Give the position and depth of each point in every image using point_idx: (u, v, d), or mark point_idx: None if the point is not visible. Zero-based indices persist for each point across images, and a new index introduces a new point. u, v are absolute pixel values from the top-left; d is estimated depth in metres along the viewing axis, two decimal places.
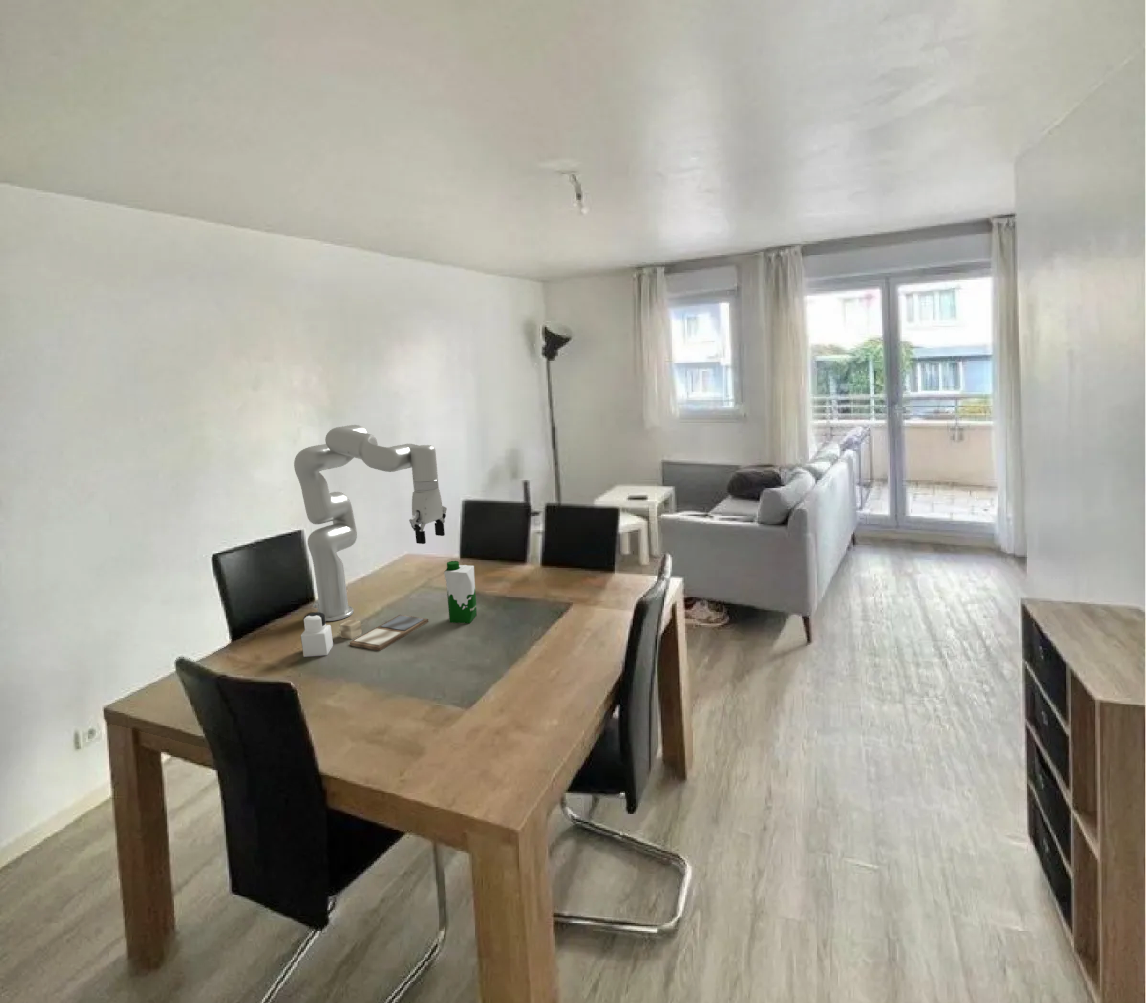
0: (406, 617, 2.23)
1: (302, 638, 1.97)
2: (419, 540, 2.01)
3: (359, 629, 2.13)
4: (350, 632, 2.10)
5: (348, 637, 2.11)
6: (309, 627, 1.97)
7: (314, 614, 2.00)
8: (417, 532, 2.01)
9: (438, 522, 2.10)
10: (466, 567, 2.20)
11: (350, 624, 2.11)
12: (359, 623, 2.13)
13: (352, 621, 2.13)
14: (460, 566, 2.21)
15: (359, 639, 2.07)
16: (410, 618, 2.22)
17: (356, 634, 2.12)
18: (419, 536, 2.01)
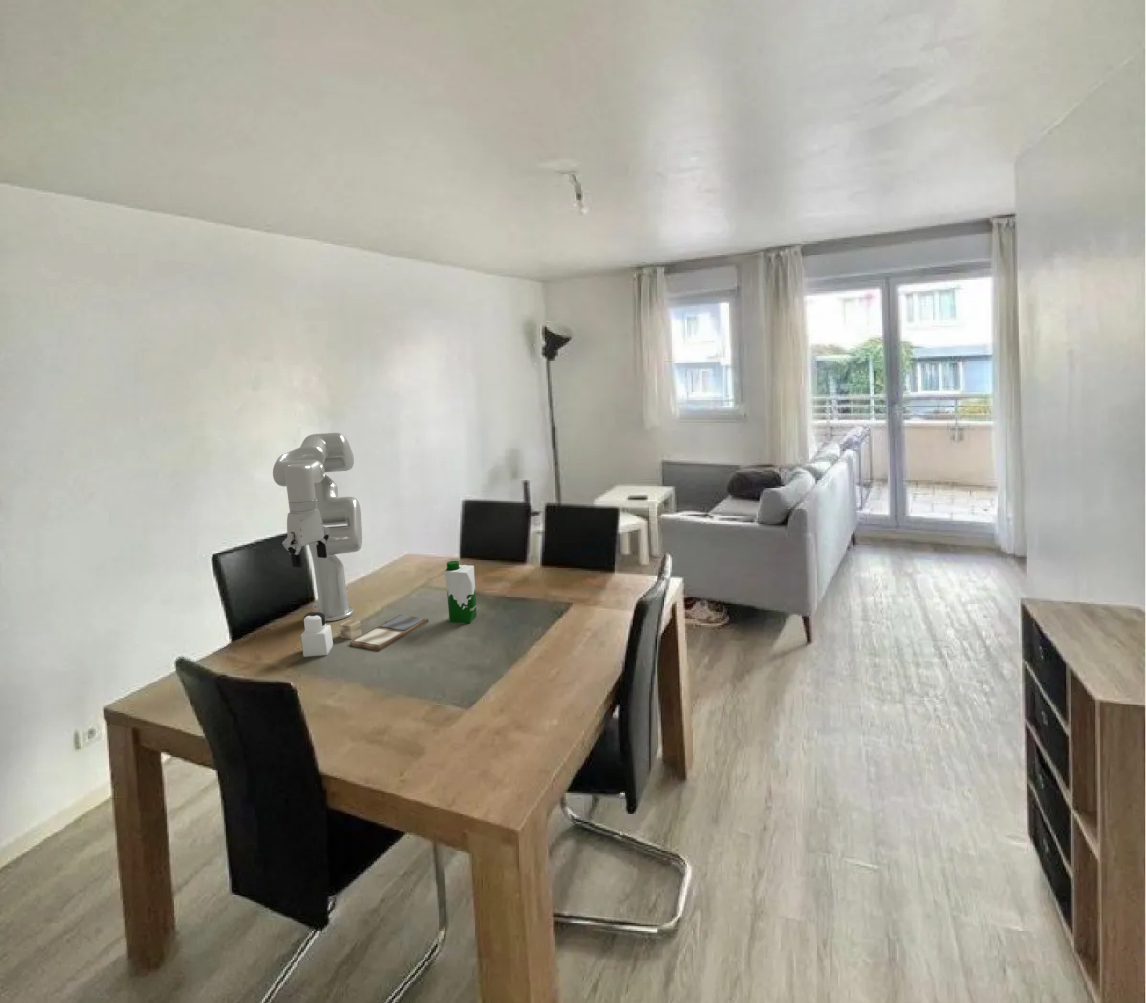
0: (406, 617, 2.23)
1: (302, 638, 1.97)
2: (295, 563, 1.91)
3: (359, 629, 2.13)
4: (350, 632, 2.10)
5: (348, 637, 2.11)
6: (309, 627, 1.97)
7: (314, 614, 2.00)
8: (292, 555, 1.91)
9: (320, 544, 2.00)
10: (466, 567, 2.20)
11: (350, 624, 2.11)
12: (359, 623, 2.13)
13: (352, 621, 2.13)
14: (460, 566, 2.21)
15: (359, 639, 2.07)
16: (410, 618, 2.22)
17: (356, 634, 2.12)
18: (295, 559, 1.91)
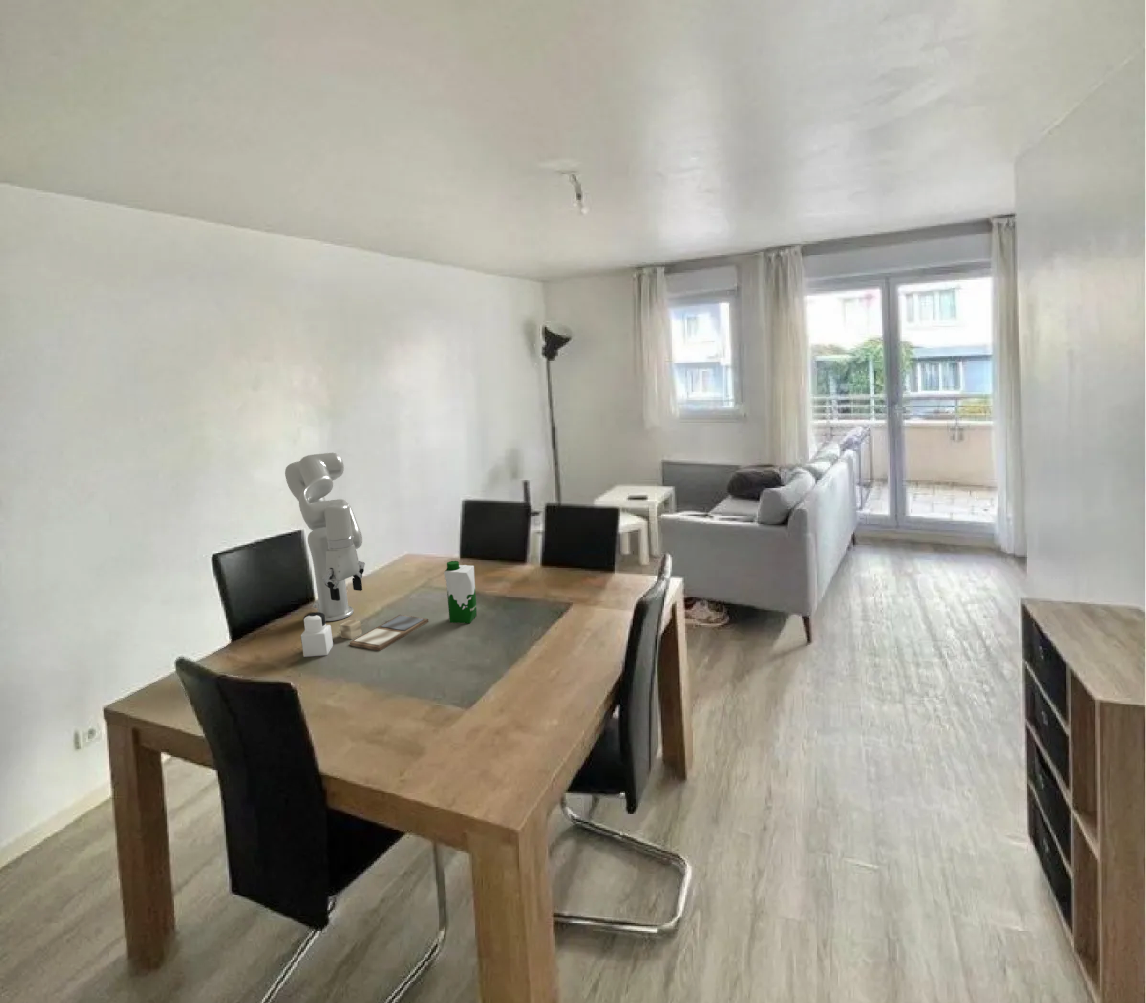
0: (406, 617, 2.23)
1: (302, 638, 1.97)
2: (333, 597, 2.04)
3: (359, 629, 2.13)
4: (350, 632, 2.10)
5: (348, 637, 2.11)
6: (309, 627, 1.97)
7: (314, 614, 2.00)
8: (331, 589, 2.04)
9: (355, 577, 2.13)
10: (466, 567, 2.20)
11: (350, 624, 2.11)
12: (359, 623, 2.13)
13: (352, 621, 2.13)
14: (460, 566, 2.21)
15: (359, 639, 2.07)
16: (410, 618, 2.22)
17: (356, 634, 2.12)
18: (333, 593, 2.04)
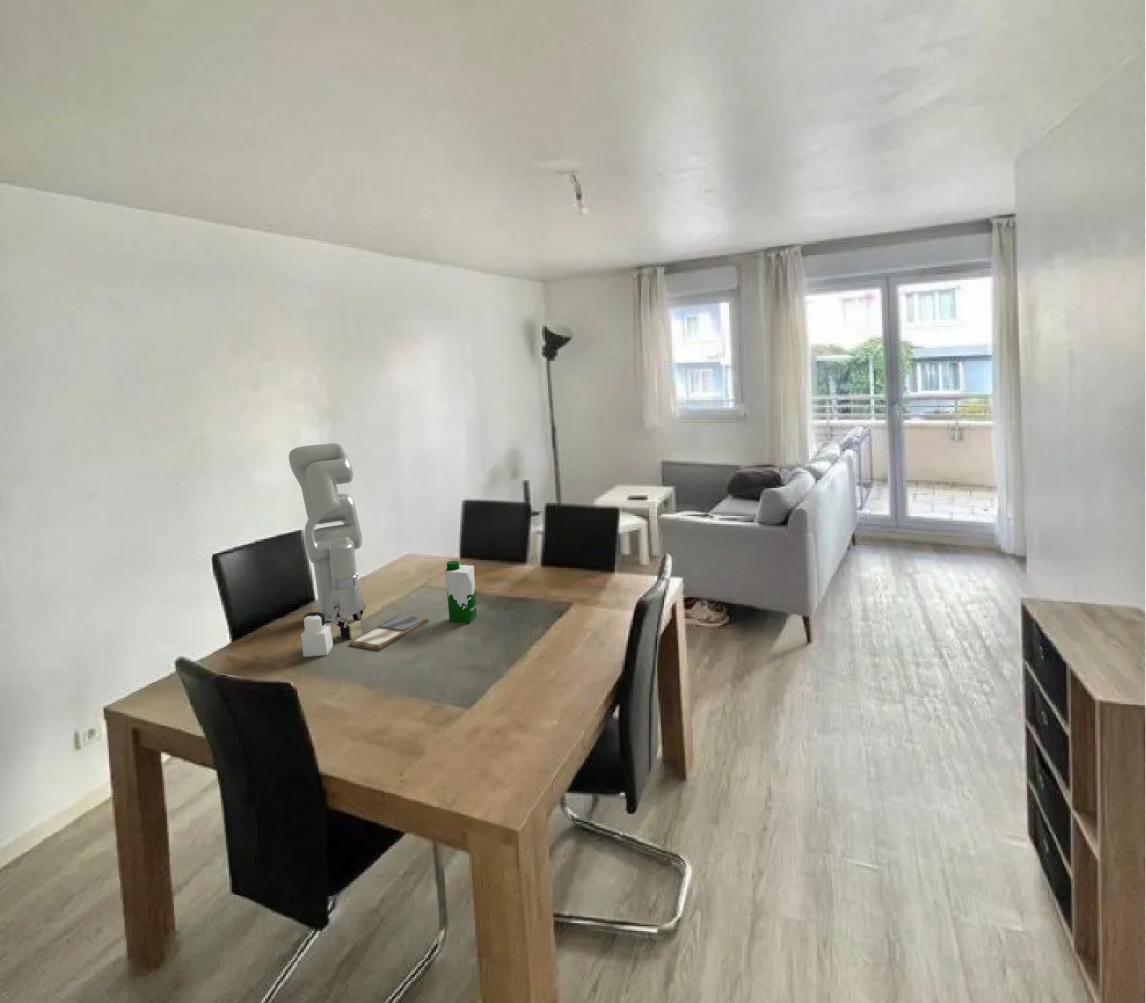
0: (406, 617, 2.23)
1: (302, 638, 1.97)
2: (343, 635, 2.10)
3: (359, 629, 2.13)
4: (351, 631, 2.10)
5: None
6: (309, 627, 1.97)
7: (314, 614, 2.00)
8: (341, 628, 2.09)
9: (355, 618, 2.14)
10: (466, 567, 2.20)
11: (350, 624, 2.11)
12: (359, 623, 2.13)
13: (352, 621, 2.13)
14: (460, 566, 2.21)
15: (359, 639, 2.07)
16: (410, 618, 2.22)
17: (356, 634, 2.12)
18: (343, 632, 2.09)
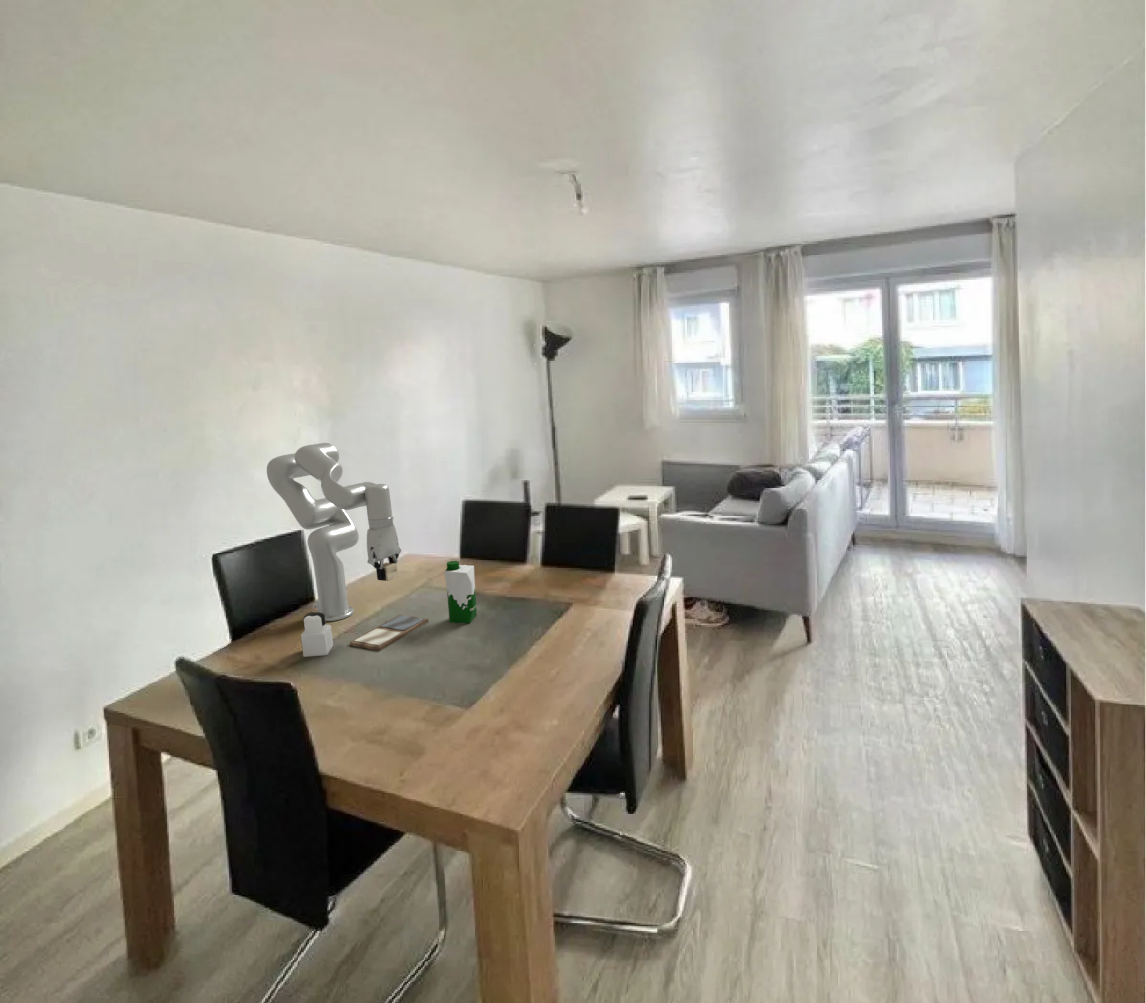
0: (406, 617, 2.23)
1: (302, 638, 1.97)
2: (379, 577, 2.10)
3: (395, 572, 2.14)
4: (387, 573, 2.10)
5: None
6: (309, 627, 1.97)
7: (314, 614, 2.00)
8: (377, 569, 2.10)
9: (390, 561, 2.15)
10: (466, 567, 2.20)
11: (386, 566, 2.12)
12: (395, 565, 2.14)
13: (388, 563, 2.14)
14: (460, 566, 2.21)
15: (359, 639, 2.07)
16: (410, 618, 2.22)
17: (392, 576, 2.13)
18: (379, 573, 2.10)
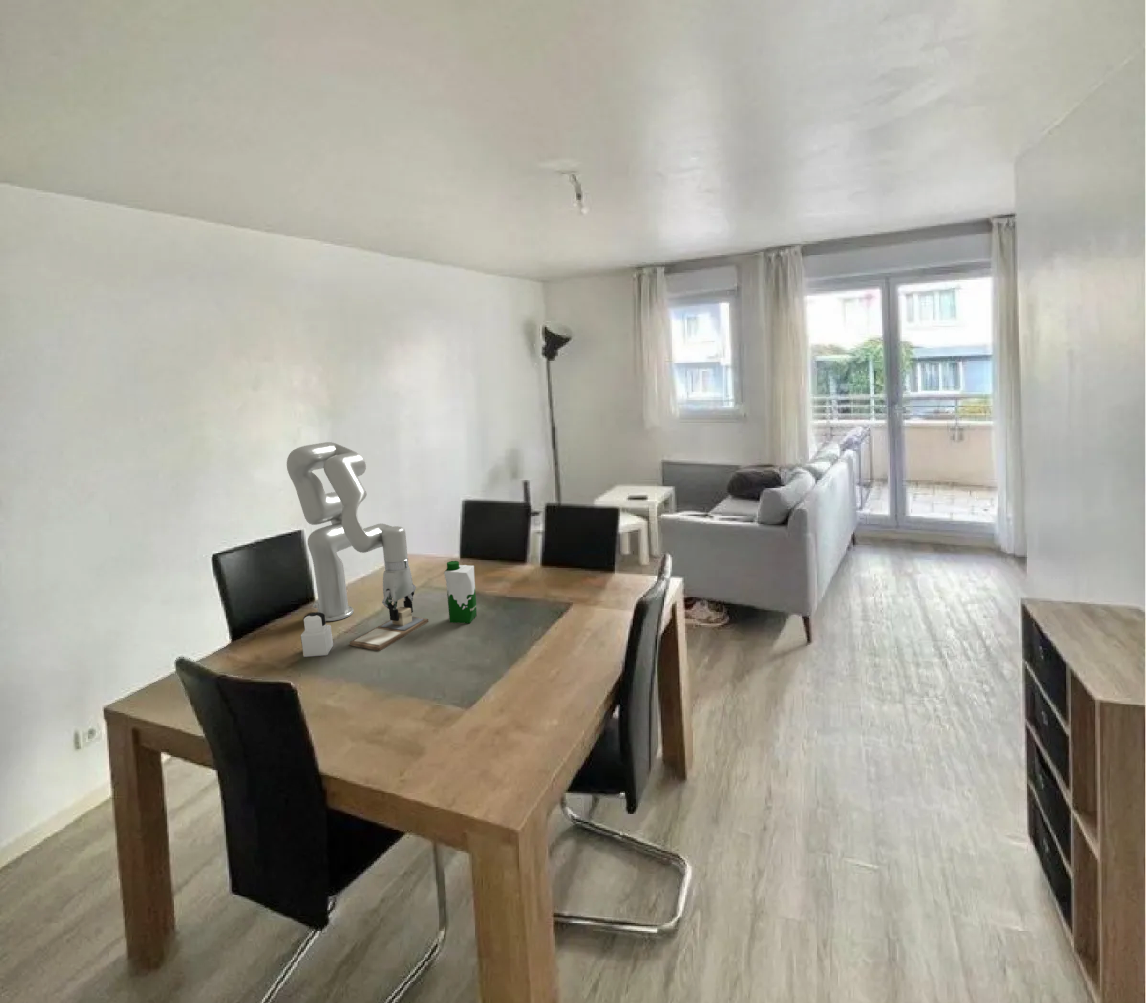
0: None
1: (302, 638, 1.97)
2: (392, 617, 2.14)
3: (410, 616, 2.19)
4: (402, 618, 2.15)
5: (399, 623, 2.16)
6: (309, 627, 1.97)
7: (314, 614, 2.00)
8: (390, 610, 2.14)
9: (406, 599, 2.21)
10: (466, 567, 2.20)
11: (401, 611, 2.17)
12: (410, 610, 2.19)
13: (403, 608, 2.19)
14: (460, 566, 2.21)
15: (359, 639, 2.07)
16: None
17: (407, 621, 2.18)
18: (392, 614, 2.14)
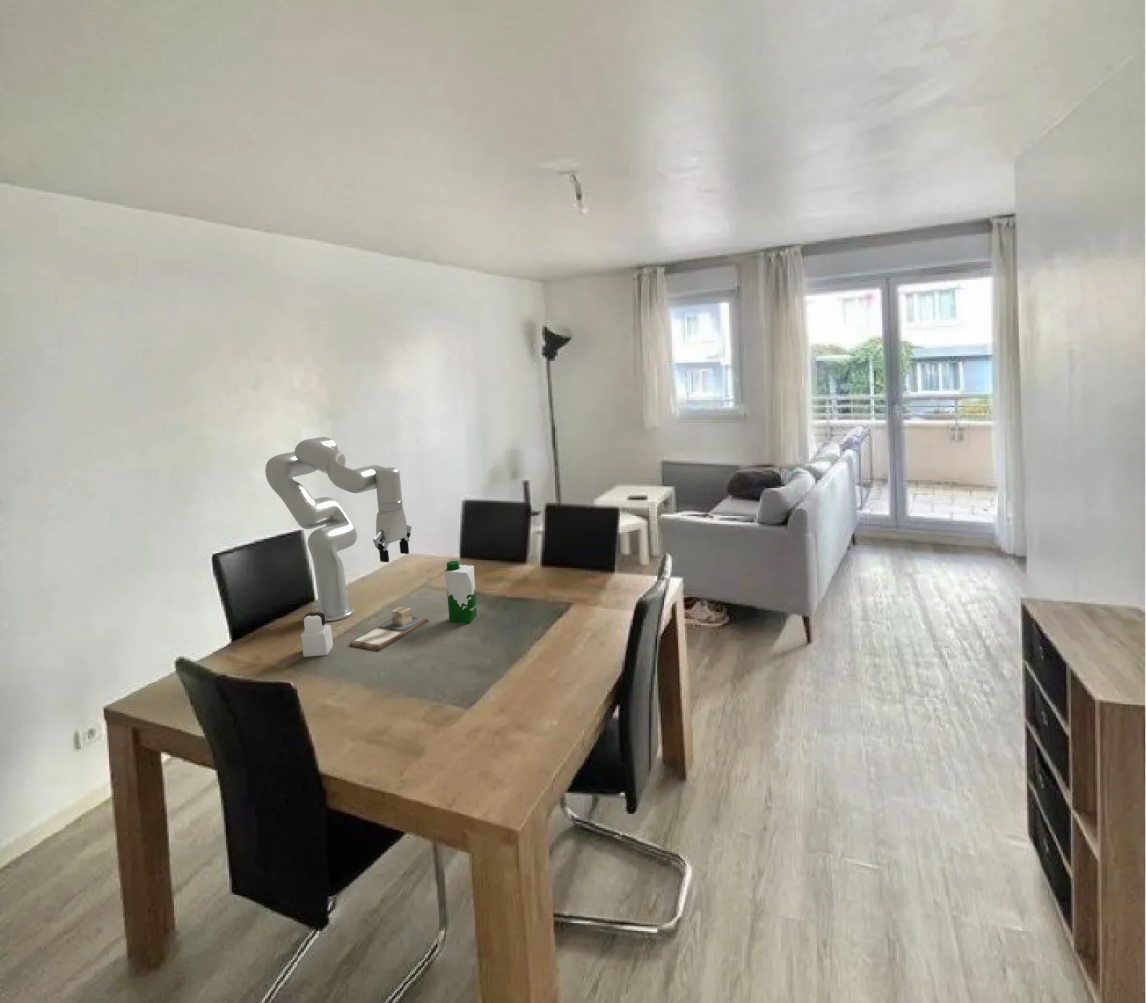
0: None
1: (302, 638, 1.97)
2: (383, 559, 2.09)
3: (410, 616, 2.19)
4: (402, 618, 2.15)
5: (399, 623, 2.16)
6: (309, 627, 1.97)
7: (314, 614, 2.00)
8: (381, 551, 2.09)
9: (403, 541, 2.18)
10: (466, 567, 2.20)
11: (401, 611, 2.17)
12: (410, 610, 2.19)
13: (403, 608, 2.19)
14: (460, 566, 2.21)
15: (359, 639, 2.07)
16: None
17: (407, 621, 2.18)
18: (383, 555, 2.09)
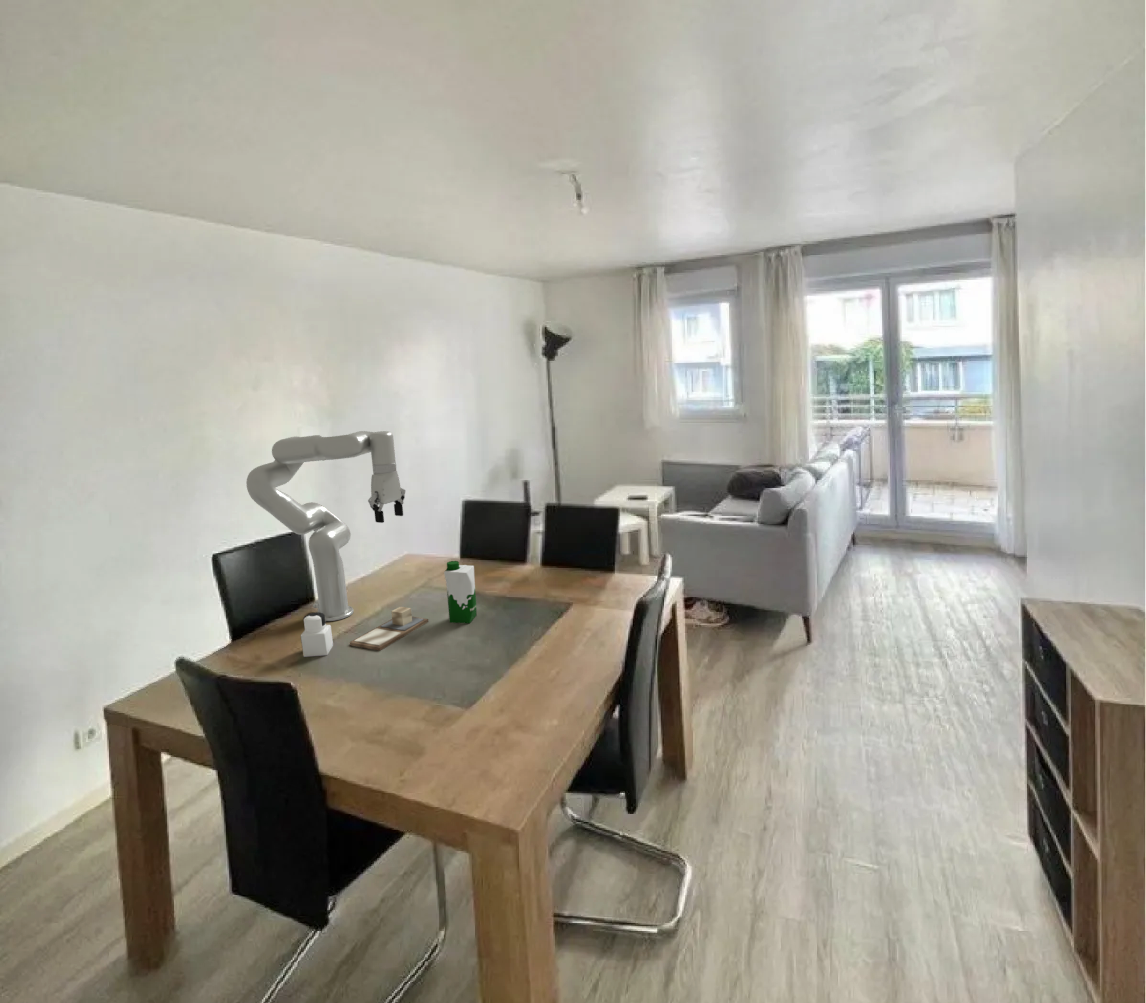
0: None
1: (302, 638, 1.97)
2: (378, 519, 2.17)
3: (410, 616, 2.19)
4: (402, 618, 2.15)
5: (399, 623, 2.16)
6: (309, 627, 1.97)
7: (314, 614, 2.00)
8: (376, 512, 2.17)
9: (397, 503, 2.26)
10: (466, 567, 2.20)
11: (401, 611, 2.17)
12: (410, 610, 2.19)
13: (403, 608, 2.19)
14: (460, 566, 2.21)
15: (359, 639, 2.07)
16: None
17: (407, 621, 2.18)
18: (378, 515, 2.17)
